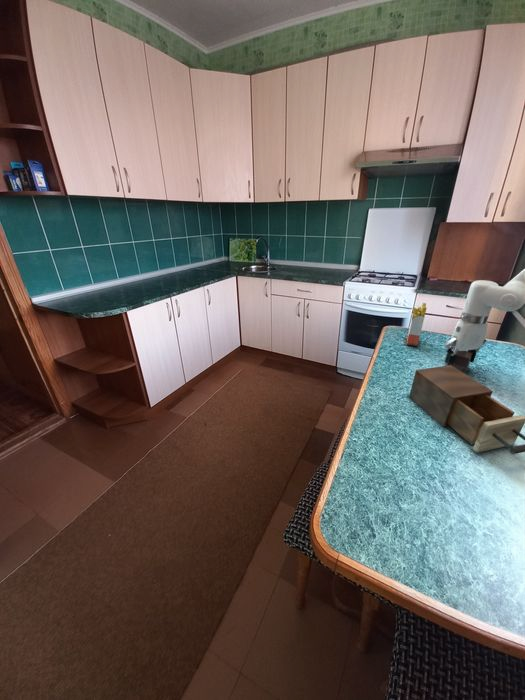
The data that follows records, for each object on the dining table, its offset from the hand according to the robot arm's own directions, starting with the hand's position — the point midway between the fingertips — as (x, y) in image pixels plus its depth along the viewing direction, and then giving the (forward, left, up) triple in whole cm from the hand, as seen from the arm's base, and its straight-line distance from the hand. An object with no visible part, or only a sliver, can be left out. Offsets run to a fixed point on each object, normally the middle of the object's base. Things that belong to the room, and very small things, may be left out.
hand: (458, 361), depth 107 cm
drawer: (+22, +32, -3) cm, 39 cm away
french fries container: (+1, -24, -4) cm, 24 cm away
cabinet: (+22, +18, -4) cm, 29 cm away
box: (0, 0, -4) cm, 4 cm away
